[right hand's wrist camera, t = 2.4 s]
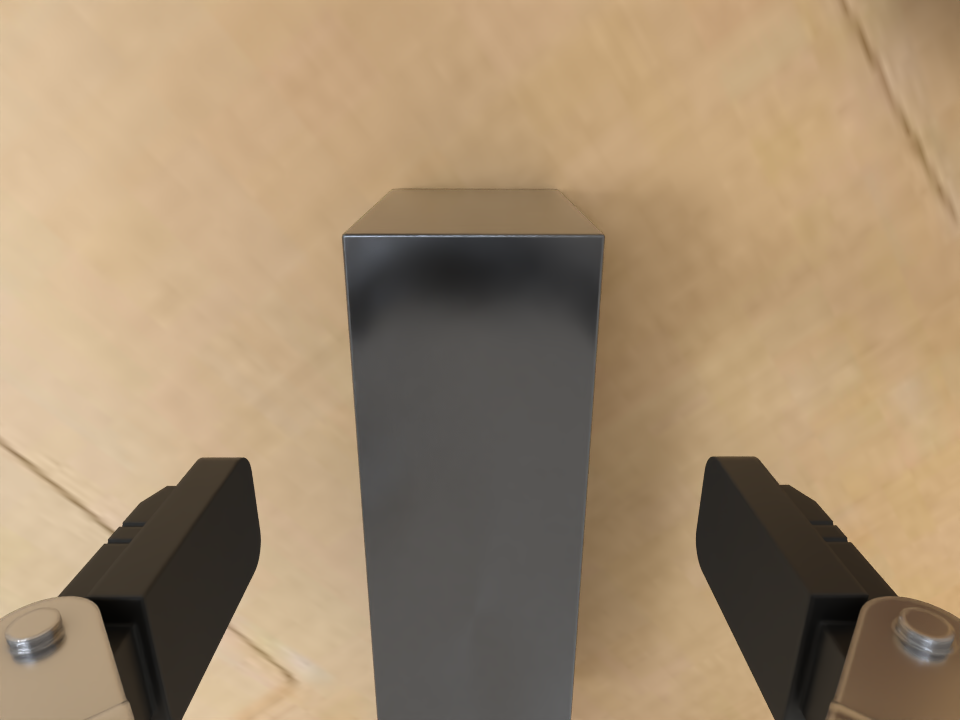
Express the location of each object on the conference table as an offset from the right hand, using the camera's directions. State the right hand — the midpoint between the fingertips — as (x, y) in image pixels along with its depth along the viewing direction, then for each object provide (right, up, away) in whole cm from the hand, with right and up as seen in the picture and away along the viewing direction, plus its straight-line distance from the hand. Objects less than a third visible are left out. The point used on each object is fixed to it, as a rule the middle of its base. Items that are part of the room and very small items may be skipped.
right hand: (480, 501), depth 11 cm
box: (0, -2, +16) cm, 17 cm away
